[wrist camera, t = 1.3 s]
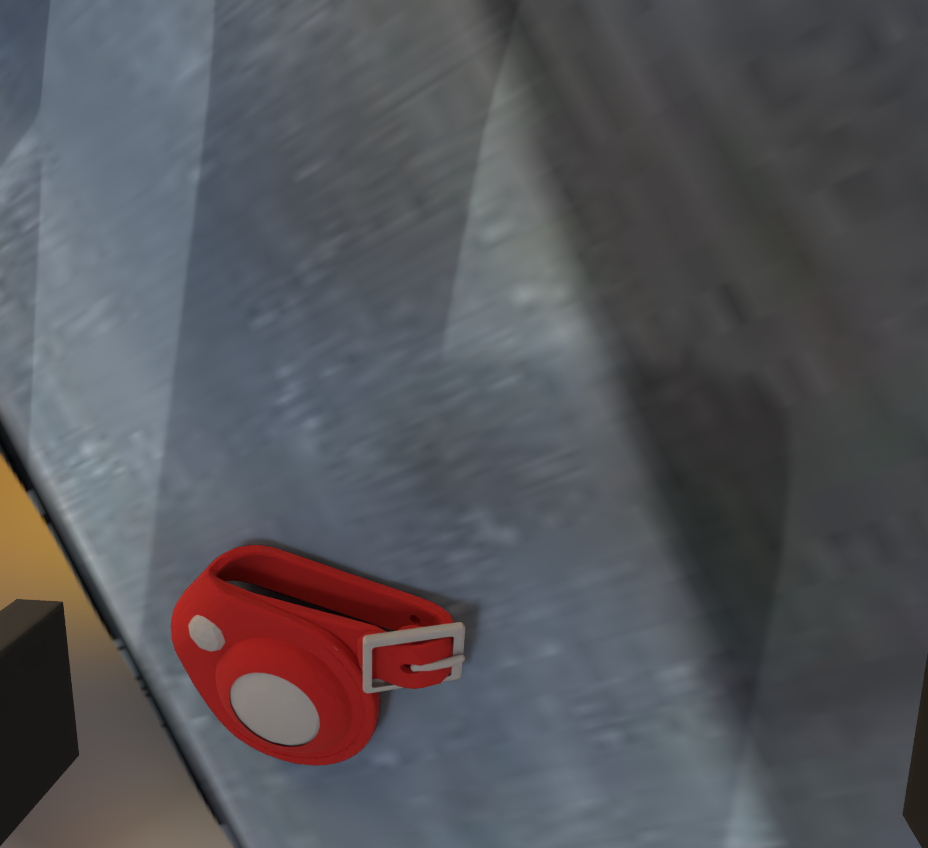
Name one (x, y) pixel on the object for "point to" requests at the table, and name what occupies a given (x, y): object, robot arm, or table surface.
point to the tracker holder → (306, 652)
